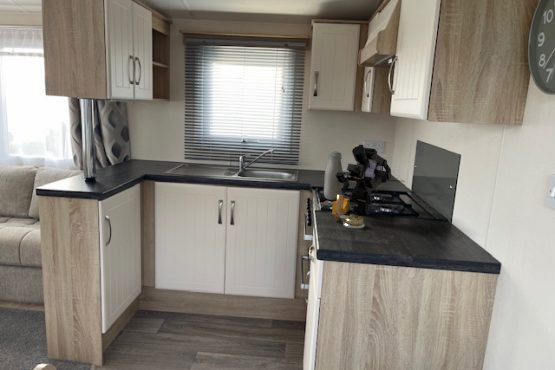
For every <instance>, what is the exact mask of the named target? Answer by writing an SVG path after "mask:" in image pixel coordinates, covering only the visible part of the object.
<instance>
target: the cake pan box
mask: <svg viewBox="0 0 555 370" xmlns="http://www.w3.org/2000/svg"><path fill="white" fill-rule="evenodd" d="M382 158H383V159H385V158H384V157H382ZM369 161H370V160H369ZM375 167H376V164H375V163H373V162H372V161H370V168H369V167H368V168H367V170H366V172H365V173H366V175H365V176H368V177H372V178H373V177H374V169H375ZM377 170H384V166H378V167H377ZM363 178H364V176H363ZM363 178H362V179H363Z"/></svg>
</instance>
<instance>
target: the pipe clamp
mask: <svg viewBox="0 0 555 370" xmlns="http://www.w3.org/2000/svg"><path fill="white" fill-rule="evenodd" d="M336 201H337V200H333V202H332V212H331V214H332V215H334V216H335V213H336ZM349 207H350V198H345V197H344V202H343V213H342V215H346V214H347V212H349V211H350V210H349V209H350V208H349Z"/></svg>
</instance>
